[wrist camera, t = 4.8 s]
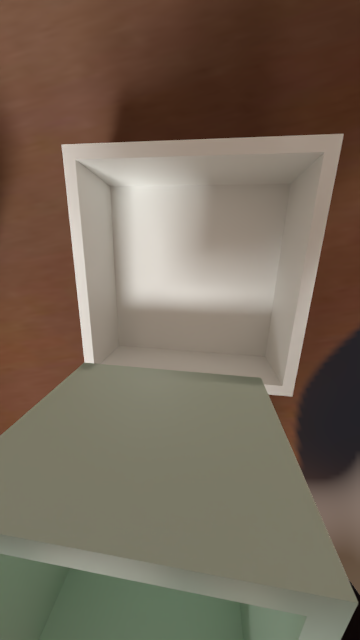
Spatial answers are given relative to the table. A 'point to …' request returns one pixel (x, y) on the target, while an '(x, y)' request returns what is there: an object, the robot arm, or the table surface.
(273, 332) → the big crate
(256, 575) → the small crate
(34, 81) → the table surface
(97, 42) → the table surface
